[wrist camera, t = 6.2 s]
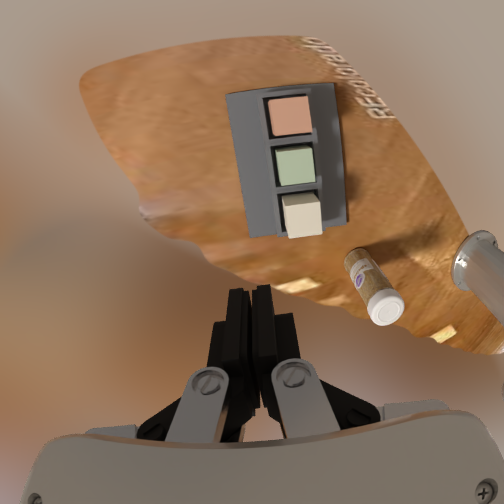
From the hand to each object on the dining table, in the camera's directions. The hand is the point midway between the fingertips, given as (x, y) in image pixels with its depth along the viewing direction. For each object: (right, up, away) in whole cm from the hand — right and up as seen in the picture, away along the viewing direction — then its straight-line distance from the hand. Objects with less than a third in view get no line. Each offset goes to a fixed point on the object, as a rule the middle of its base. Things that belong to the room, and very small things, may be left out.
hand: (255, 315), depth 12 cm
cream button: (+6, +8, +25) cm, 27 cm away
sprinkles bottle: (+16, +1, +32) cm, 36 cm away
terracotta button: (+4, +19, +20) cm, 28 cm away
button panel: (+5, +15, +25) cm, 30 cm away
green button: (+5, +14, +24) cm, 29 cm away
